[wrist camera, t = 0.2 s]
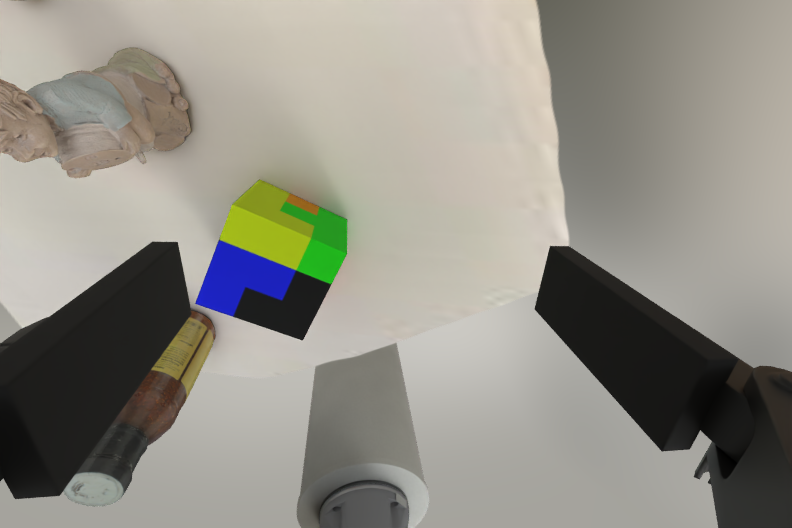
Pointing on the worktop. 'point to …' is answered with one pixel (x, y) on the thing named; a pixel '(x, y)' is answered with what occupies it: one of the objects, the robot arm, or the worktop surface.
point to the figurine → (96, 115)
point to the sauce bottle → (143, 417)
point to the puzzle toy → (274, 260)
